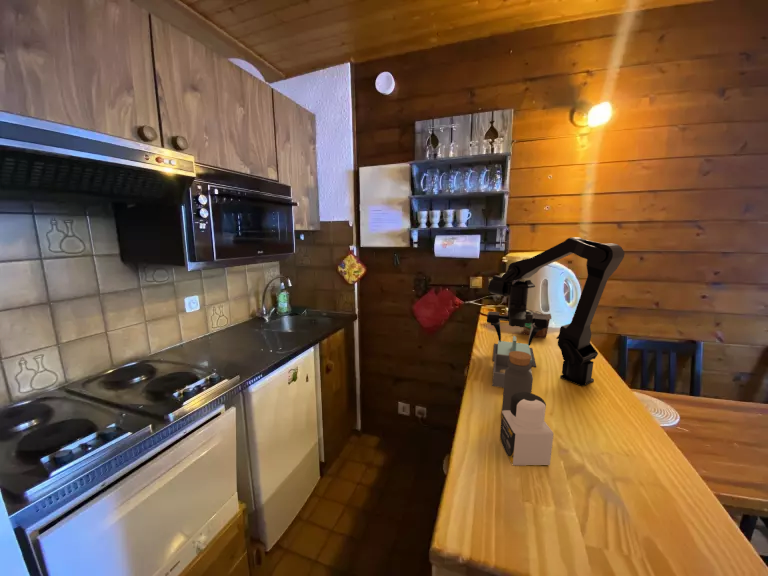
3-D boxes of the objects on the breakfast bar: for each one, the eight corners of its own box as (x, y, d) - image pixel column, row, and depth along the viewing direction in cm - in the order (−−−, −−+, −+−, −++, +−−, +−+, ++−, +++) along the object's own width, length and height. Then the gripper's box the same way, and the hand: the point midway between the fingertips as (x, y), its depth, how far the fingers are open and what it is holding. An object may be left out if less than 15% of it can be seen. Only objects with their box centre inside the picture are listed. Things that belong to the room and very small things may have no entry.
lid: (497, 344, 117) (498, 330, 115) (528, 348, 113) (529, 333, 112) (497, 359, 103) (498, 343, 102) (531, 364, 100) (533, 348, 99)
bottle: (501, 418, 73) (506, 358, 70) (501, 405, 78) (506, 348, 75) (529, 423, 71) (535, 361, 68) (527, 409, 76) (532, 351, 73)
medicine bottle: (499, 440, 65) (503, 387, 63) (533, 441, 65) (539, 388, 63) (511, 466, 58) (516, 407, 56) (550, 466, 58) (557, 408, 56)
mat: (494, 344, 118) (494, 343, 118) (532, 349, 113) (532, 347, 113) (492, 361, 103) (492, 360, 103) (536, 367, 99) (536, 366, 99)
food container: (513, 331, 133) (515, 308, 131) (524, 329, 135) (525, 306, 133) (538, 340, 122) (541, 315, 120) (549, 338, 124) (552, 314, 122)
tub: (493, 365, 100) (494, 353, 100) (528, 370, 97) (529, 358, 96) (492, 385, 88) (493, 372, 87) (531, 392, 84) (532, 378, 83)
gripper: (487, 302, 100) (484, 348, 103) (552, 307, 94) (547, 356, 97) (488, 295, 111) (486, 337, 114) (547, 299, 104) (543, 343, 107)
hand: (514, 343), depth 108 cm, fingers open, 9 cm apart
